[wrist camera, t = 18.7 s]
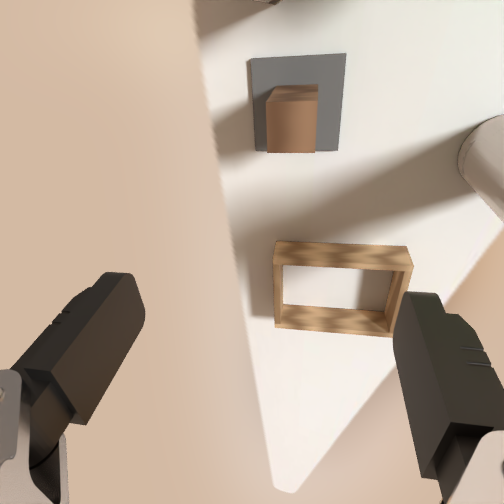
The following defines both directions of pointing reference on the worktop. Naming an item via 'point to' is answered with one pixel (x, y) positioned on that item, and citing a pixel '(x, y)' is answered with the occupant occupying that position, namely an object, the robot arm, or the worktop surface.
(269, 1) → the coffee box
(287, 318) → the caddy
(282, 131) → the walnut block
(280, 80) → the slate mat
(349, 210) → the worktop surface
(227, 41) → the worktop surface
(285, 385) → the worktop surface
